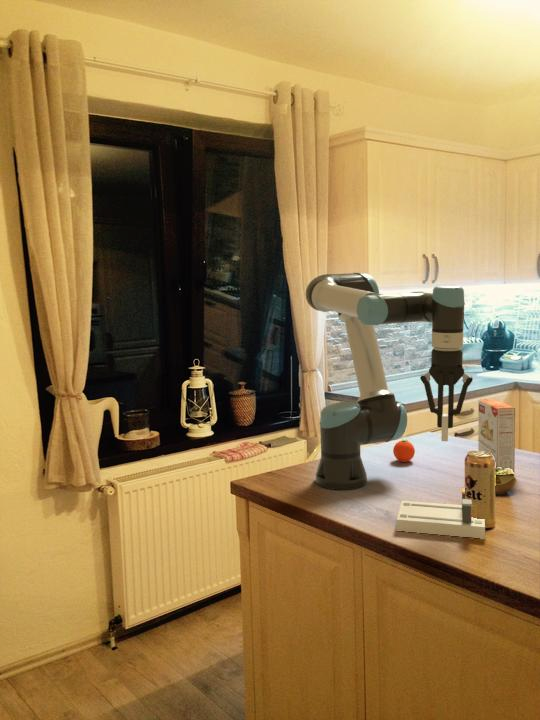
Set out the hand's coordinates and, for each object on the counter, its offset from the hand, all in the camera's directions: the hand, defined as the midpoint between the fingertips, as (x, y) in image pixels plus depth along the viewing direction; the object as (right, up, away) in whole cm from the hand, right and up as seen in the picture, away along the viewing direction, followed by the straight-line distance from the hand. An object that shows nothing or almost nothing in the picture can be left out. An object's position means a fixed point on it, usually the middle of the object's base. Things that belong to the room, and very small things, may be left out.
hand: (444, 439), depth 161 cm
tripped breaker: (+4, -16, -6) cm, 17 cm away
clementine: (-1, -13, +45) cm, 47 cm away
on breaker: (+1, -17, -14) cm, 22 cm away
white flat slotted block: (-3, -20, -7) cm, 21 cm away
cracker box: (+25, -14, +34) cm, 44 cm away
